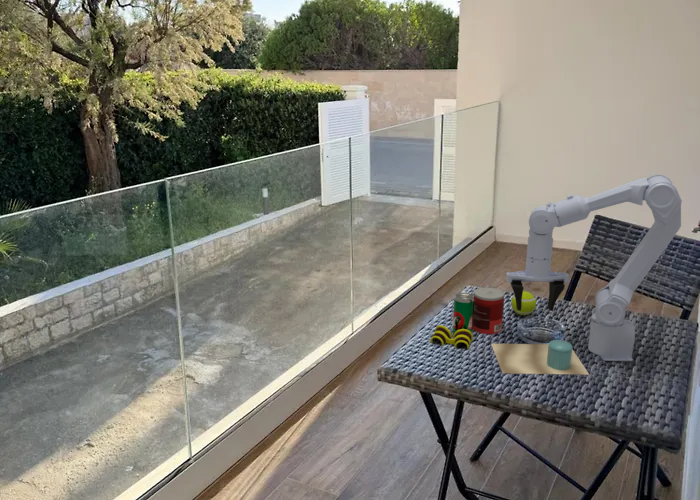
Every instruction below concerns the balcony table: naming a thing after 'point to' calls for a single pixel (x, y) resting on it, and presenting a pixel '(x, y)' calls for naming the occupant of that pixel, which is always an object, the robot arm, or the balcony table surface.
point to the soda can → (463, 312)
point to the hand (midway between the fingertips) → (534, 309)
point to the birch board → (531, 360)
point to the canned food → (488, 310)
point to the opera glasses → (458, 336)
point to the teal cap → (559, 355)
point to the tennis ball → (525, 303)
